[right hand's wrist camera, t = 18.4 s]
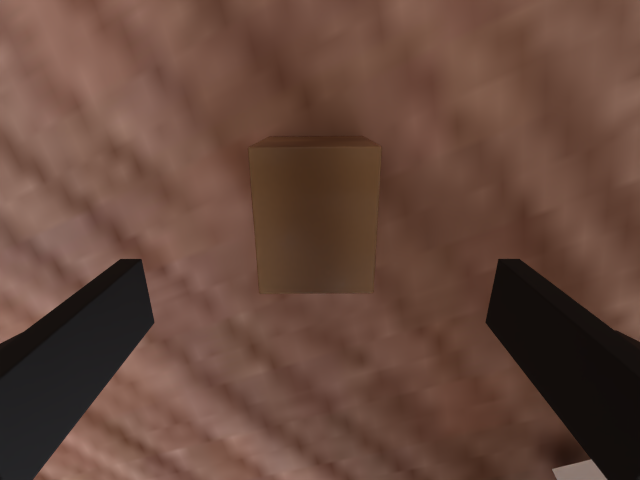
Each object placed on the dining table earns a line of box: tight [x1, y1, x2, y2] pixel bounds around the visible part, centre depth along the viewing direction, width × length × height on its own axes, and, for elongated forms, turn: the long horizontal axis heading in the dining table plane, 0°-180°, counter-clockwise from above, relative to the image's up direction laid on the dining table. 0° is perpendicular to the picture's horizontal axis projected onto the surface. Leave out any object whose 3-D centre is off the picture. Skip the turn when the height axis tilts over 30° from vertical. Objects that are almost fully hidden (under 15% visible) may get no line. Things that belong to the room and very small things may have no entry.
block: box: [248, 136, 382, 294], centre depth 22 cm, size 7×8×7 cm
